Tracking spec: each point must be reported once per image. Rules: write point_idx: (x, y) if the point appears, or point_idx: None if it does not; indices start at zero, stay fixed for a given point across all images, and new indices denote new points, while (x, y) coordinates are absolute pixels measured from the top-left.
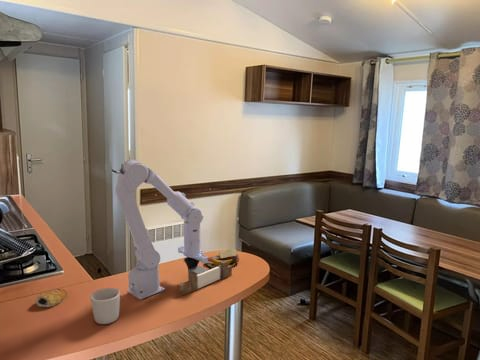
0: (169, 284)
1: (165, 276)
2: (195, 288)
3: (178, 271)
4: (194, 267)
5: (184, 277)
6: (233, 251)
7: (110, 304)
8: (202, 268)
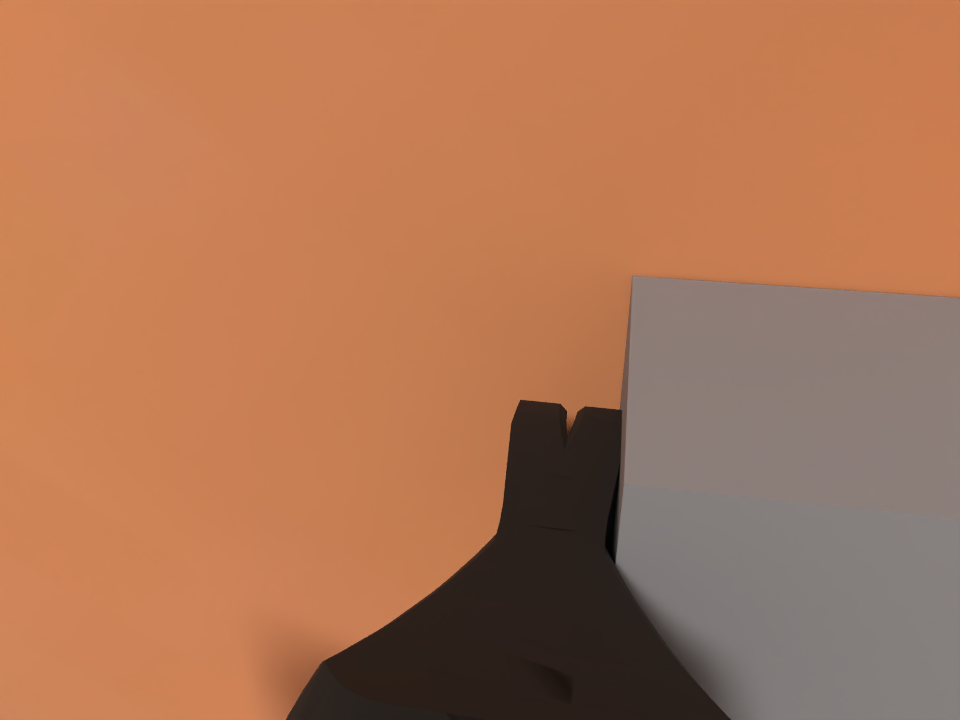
0: None
1: (123, 559)
2: None
3: (40, 314)
4: None
5: (353, 416)
6: None
7: None
8: (887, 570)
